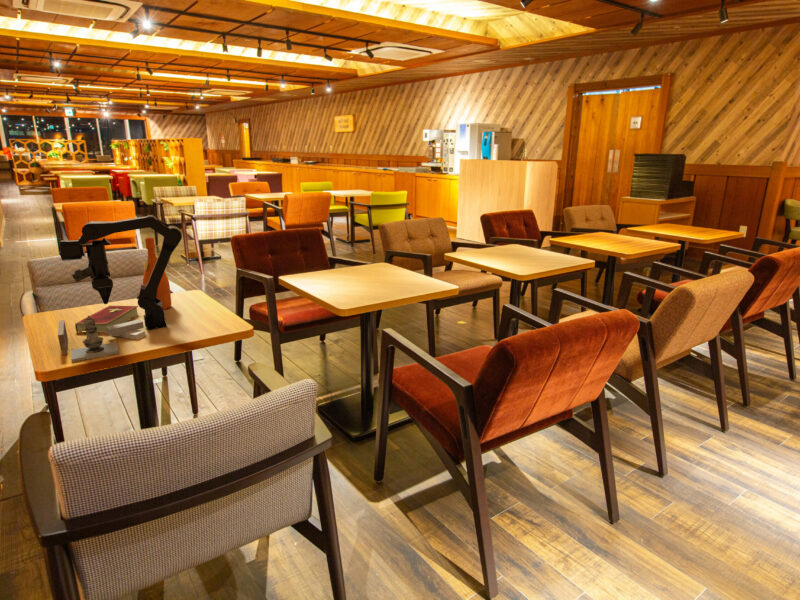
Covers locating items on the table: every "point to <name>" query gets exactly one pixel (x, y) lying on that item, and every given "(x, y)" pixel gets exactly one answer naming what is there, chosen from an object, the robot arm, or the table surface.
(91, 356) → the slate mat
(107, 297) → the robot arm
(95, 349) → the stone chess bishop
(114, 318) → the hardcover book
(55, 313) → the table surface
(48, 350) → the table surface
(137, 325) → the top offcut
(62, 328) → the long thin taupe batten
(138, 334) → the bottom offcut
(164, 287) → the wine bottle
